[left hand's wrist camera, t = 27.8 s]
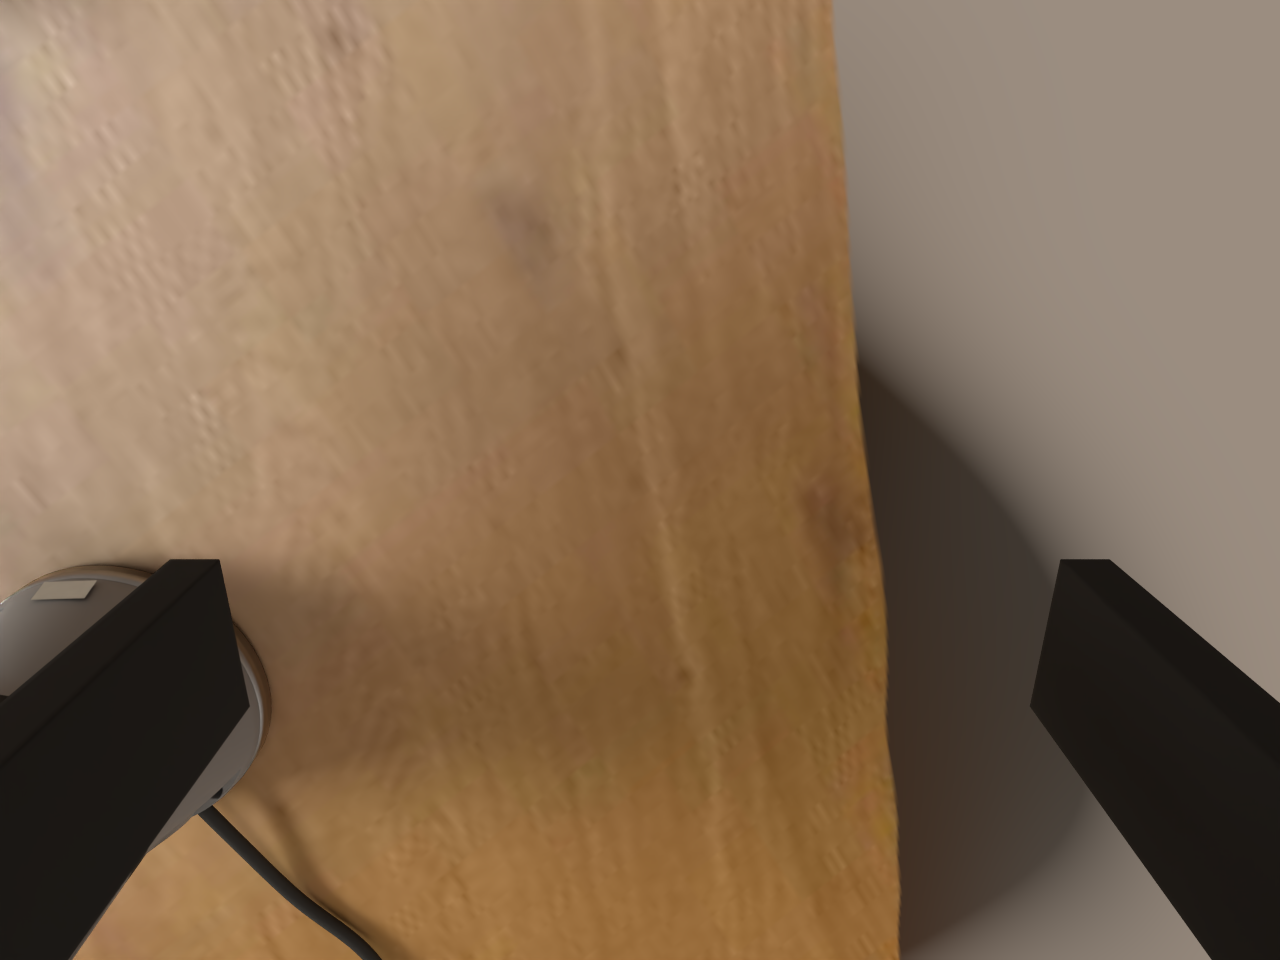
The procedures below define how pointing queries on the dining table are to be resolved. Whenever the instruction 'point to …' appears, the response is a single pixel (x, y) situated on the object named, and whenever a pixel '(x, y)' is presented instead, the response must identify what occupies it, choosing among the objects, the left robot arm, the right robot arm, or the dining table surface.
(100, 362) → the dining table surface
